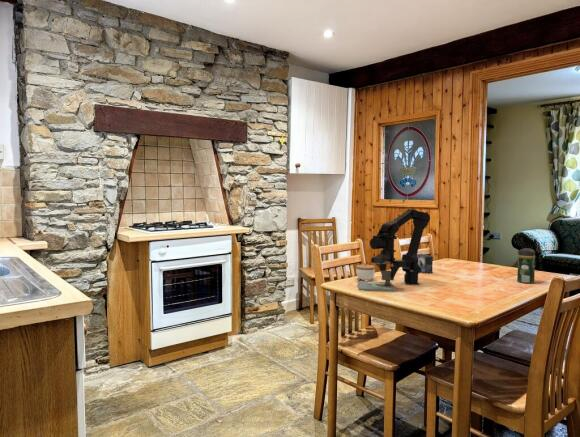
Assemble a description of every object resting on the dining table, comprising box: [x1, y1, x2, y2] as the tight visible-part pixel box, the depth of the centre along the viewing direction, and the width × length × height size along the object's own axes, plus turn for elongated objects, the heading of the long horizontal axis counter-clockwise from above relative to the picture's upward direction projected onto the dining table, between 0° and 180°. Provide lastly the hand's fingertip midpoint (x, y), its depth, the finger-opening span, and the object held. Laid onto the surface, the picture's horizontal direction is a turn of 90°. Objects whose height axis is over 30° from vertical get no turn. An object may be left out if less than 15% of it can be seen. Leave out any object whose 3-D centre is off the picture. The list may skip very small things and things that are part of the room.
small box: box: [417, 253, 434, 275], centre depth 257 cm, size 11×6×10 cm, turn 25°
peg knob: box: [368, 269, 395, 286], centre depth 215 cm, size 13×4×7 cm, turn 80°
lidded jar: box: [355, 262, 376, 281], centre depth 233 cm, size 11×11×9 cm
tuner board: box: [356, 280, 397, 293], centre depth 215 cm, size 18×18×1 cm
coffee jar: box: [516, 247, 536, 284], centre depth 227 cm, size 10×8×19 cm
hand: (387, 278), depth 214 cm, fingers closed on peg knob, 5 cm apart
